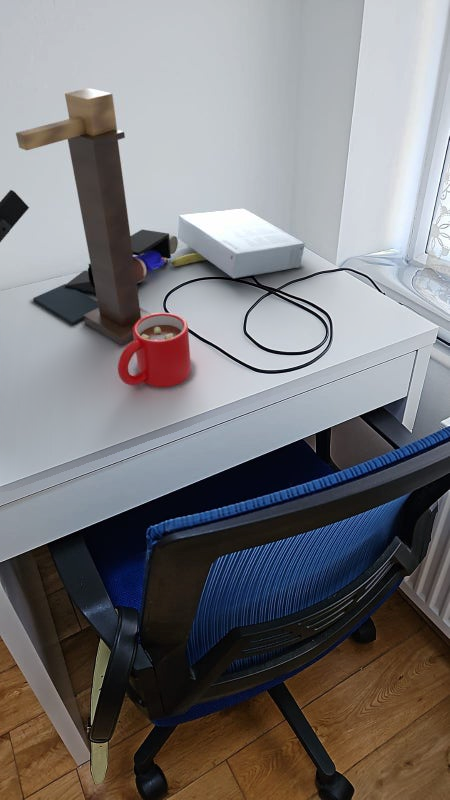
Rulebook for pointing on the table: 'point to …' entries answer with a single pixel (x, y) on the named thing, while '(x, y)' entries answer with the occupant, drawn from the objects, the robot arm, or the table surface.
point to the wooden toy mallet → (75, 120)
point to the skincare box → (240, 242)
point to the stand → (107, 234)
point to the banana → (188, 259)
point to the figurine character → (151, 250)
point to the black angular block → (85, 282)
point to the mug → (158, 351)
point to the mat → (67, 303)
